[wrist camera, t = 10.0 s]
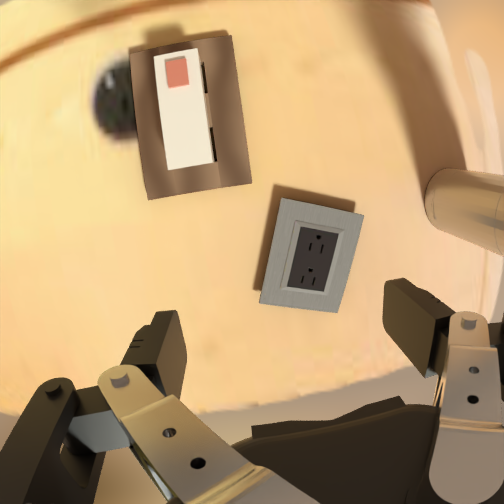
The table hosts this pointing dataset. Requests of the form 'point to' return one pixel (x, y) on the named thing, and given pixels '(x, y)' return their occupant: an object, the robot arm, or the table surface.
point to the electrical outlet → (310, 256)
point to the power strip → (183, 109)
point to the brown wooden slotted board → (219, 115)
